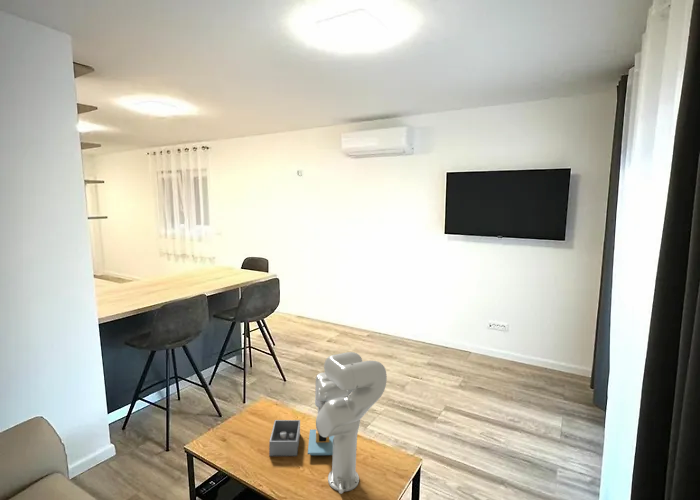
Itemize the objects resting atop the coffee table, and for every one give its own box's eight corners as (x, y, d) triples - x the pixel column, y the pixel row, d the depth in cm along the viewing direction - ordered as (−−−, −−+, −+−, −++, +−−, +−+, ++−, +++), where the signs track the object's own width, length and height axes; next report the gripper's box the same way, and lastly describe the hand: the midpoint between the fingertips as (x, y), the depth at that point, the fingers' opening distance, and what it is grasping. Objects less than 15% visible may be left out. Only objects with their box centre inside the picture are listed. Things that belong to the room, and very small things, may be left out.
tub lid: (336, 456, 165) (336, 443, 164) (307, 456, 164) (307, 443, 163) (335, 433, 181) (336, 420, 180) (309, 433, 180) (310, 420, 179)
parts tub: (296, 456, 166) (297, 441, 165) (269, 456, 166) (269, 441, 165) (299, 433, 182) (300, 420, 181) (274, 433, 181) (274, 420, 180)
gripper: (332, 411, 162) (330, 450, 164) (331, 391, 178) (330, 428, 180) (314, 411, 161) (313, 450, 164) (315, 391, 177) (315, 428, 180)
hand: (322, 438), depth 172 cm, fingers closed on tub lid
